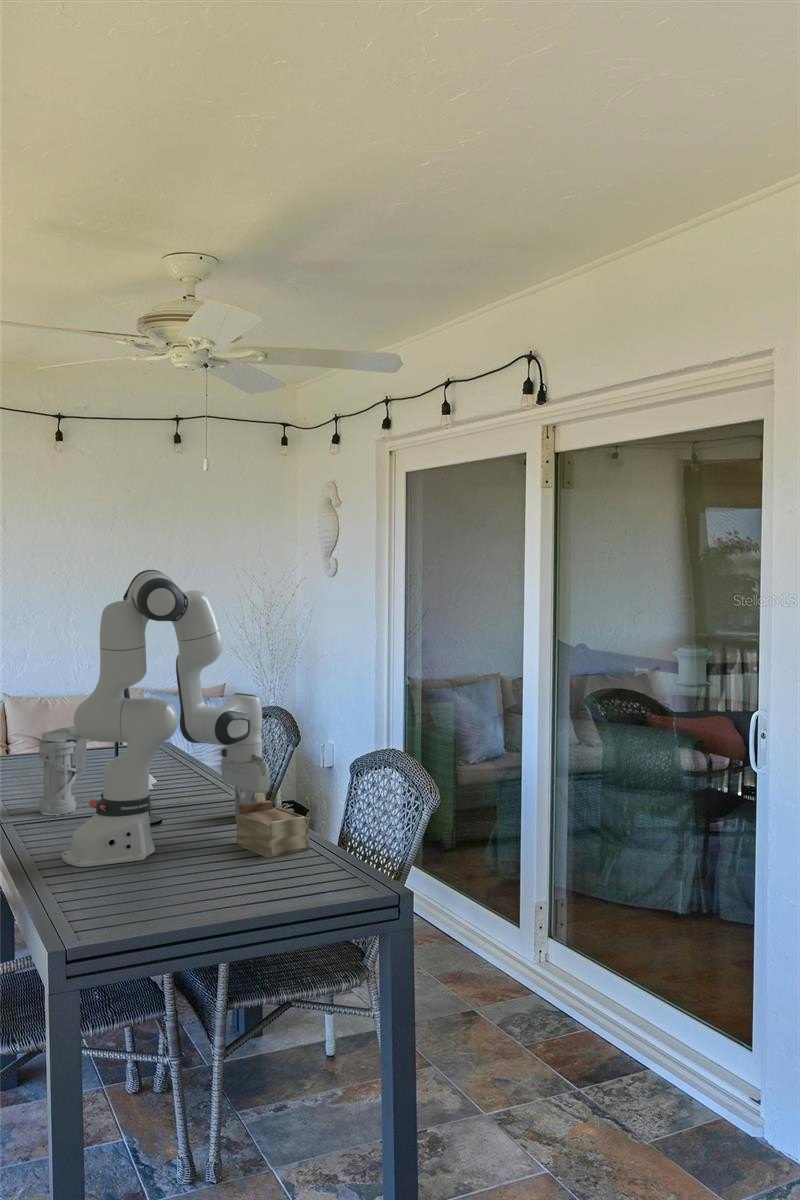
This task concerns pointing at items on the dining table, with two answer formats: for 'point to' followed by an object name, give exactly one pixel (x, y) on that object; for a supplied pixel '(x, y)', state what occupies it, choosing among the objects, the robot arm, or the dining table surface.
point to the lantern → (61, 768)
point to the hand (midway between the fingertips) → (245, 804)
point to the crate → (273, 835)
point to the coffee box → (255, 798)
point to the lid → (264, 812)
